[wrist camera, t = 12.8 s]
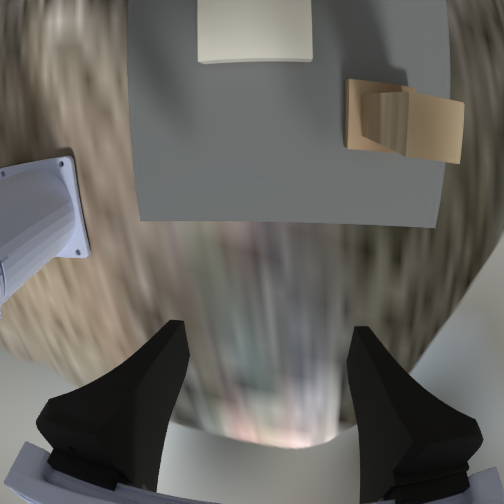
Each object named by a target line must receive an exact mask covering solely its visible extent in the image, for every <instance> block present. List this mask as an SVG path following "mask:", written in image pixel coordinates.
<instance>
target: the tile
mask: <svg viewBox="0 0 504 504" xmlns="http://www.w3.org/2000/svg"><path fill="white" fill-rule="evenodd" d="M197 31H198V62H200V63H202V64H214V63H229V62H258V61H286V62H311V61H312V59H313V47H312V13H311V0H197Z"/></svg>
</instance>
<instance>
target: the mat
mask: <svg viewBox="0 0 504 504" xmlns="http://www.w3.org/2000/svg"><path fill="white" fill-rule="evenodd" d="M311 13H312V47H313V59H312V61H311V62H286V61H258V62H229V63H214V64H202V63H200V62H198V31H197V0H128V17H127V71H128V98H129V116H130V130H131V143H132V154H133V164H134V173H135V182H136V191H137V199H138V206H139V214H140V221H264V222H306V223H338V224H364V225H387V226H407V227H426V228H435V227H436V222H437V217H438V211H439V205H440V199H441V192H442V186H443V178H444V170H445V162H442V161H435V160H427V159H419V158H411V157H405V156H403V155H401V154H399V153H389V152H379V151H367V150H354V149H347V148H345V147H344V124H345V80H347V79H356V80H365V81H374V82H381V83H388V84H395V85H401V86H408V87H413V88H416V93H420V94H425V95H430V96H435V97H440V98H445V99H449V100H450V47H449V30H448V18H447V8H446V0H311Z"/></svg>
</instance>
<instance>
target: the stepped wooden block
mask: <svg viewBox="0 0 504 504" xmlns="http://www.w3.org/2000/svg"><path fill="white" fill-rule="evenodd" d="M463 121H464V103H462V102H458V101H454V100H449V99H445V98H440V97H435V96H430V95H425V94H420V93H416V88H413V87H408V86H401V85H395V84H388V83H381V82H374V81H365V80H356V79H347V80H345V124H344V147H345V148H347V149H354V150H367V151H379V152H389V153H399V154H401V155H403V156H405V157H411V158H419V159H427V160H435V161H442V162H449V163H455V164H460V157H461V147H462V136H463Z"/></svg>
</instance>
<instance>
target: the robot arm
mask: <svg viewBox="0 0 504 504" xmlns="http://www.w3.org/2000/svg"><path fill="white" fill-rule="evenodd" d="M61 161H63V163H64V166H63V165H62V164H61ZM4 173H5V174H4ZM78 250H79V251H80V252H81V253H80V252H79V251H78ZM89 255H90V248H89V243H88V239H87V234H86V230H85V225H84V220H83V215H82V209H81V204H80V198H79V192H78V186H77V179H76V173H75V165H74V160H73V158H72V157H71V156H62V157H56V158H50V159H44V160H39V161H33V162H28V163H23V164H18V165H13V166H9V167H4V168H0V319H1V318H2V314H1V305H2V304H3V303H4V302H5V301H6V300H7V299H8V298H9V297H10V296H11V295H12V294H13V293H14V292H16V291H17V290H18V289H19V288H20V287H21V286H22V285H23V284H24V283H25V282H26V281H27V280H29V279H30V278H31V277H32V276H33V275H34V274H35V273H36V272H37V271H39V270H40V269H41V268H42V267H43V266H44V265H45V264H47V263H48V262H49V261H50V260H51V259H52V258H54V257H71V258H87V257H88V256H89ZM189 357H190V353H189V348H188V342H187V337H186V331H185V325H184V321H181V320H170V321H168V322H167V323H166V324H165V325H164V326H163V327H162V328H161V329H160V330H159V331H158V332H157V333H156V334H155V335H154V336H153V337H152V338H151V339H150V340H149V341H148V342H146V343H145V344H144V345H143V346H142V347H141V348H140V349H139V350H138V351H137V352H135V353H134V354H133V355H132V356H131V357H129V358H128V359H127V360H126V361H124V362H123V363H122V364H120V365H119V366H118V367H116V368H115V369H113V370H112V371H110V372H109V373H107V374H105V375H104V376H102V377H100V378H98V379H97V380H95V381H93V382H91V383H89V384H87V385H85V386H83V387H81V388H79V389H76V390H74V391H72V392H69V393H66V394H63V395H60V396H57V397H54V398H51V399H49V400H48V402H47V403H46V405H45V407H44V408H43V410H42V411H41V413H40V415H39V417H38V418H37V420H36V425H37V428H38V430H39V431H40V433H41V434H42V435H43V436H44V438H45V439H46V440H47V441H48V443H49V444H50V445H51V446H52V447H53V448H54V449H53V451H52V453H51V454H50V453H49V452H48V451H46V450H44V449H42V448H40V447H38V446H35V445H33V444H31V443H29V442H25V443H24V445H23V447H22V448H21V450H20V452H19V454H18V456H17V458H16V460H15V462H14V464H13V465H12V467H11V469H10V471H9V473H8V475H7V477H6V479H5V481H4V484H5V485H6V486H7V487H8V488H10V489H11V490H12V491H13V492H15V493H16V494H18V496H20V497H21V498H22V499H24V500H25V501H26V502H28V503H29V504H220V503H212V502H204V501H197V500H191V499H186V498H179V497H175V496H169V495H165V494H160V493H156V491H157V483H158V475H159V469H160V462H161V456H162V451H163V446H164V441H165V436H166V432H167V428H168V423H169V420H170V417H171V414H172V411H173V408H174V405H175V403H176V400H177V397H178V395H179V392H180V389H181V386H182V384H183V381H184V378H185V375H186V371H187V367H188V362H189ZM347 370H348V381H349V386H350V391H351V396H352V400H353V405H354V410H355V415H356V419H357V425H358V432H359V447H360V504H504V490H503V486H502V483H501V480H500V477H499V474H498V471H497V468H496V467H492V468H489V469H486V470H484V471H481V472H477V473H475V474H473V475H471V476H469V477H468V476H467V473H466V471H467V470H468V469H469V465H468V462H467V461H468V460H469V459H470V458H471V457H472V456H473V455H474V454H475V452H476V451H477V450H478V449H479V448H480V446H481V444H482V442H483V437H482V434H481V431H480V428H479V426H478V424H477V421H476V420H475V419H473V418H471V417H469V416H467V415H465V414H463V413H461V412H459V411H457V410H455V409H454V408H452V407H450V406H449V405H447V404H445V403H444V402H442V401H441V400H439V399H438V398H436V397H435V396H434V395H432V394H431V393H430V392H428V391H427V390H426V389H424V388H423V387H422V386H421V385H420V384H418V383H417V382H416V381H415V380H414V379H413V378H412V377H411V376H410V375H409V374H408V373H407V372H406V371H405V370H404V369H403V368H402V367H401V366H400V365H399V364H398V363H397V361H396V360H395V359H394V358H393V357H392V355H391V354H390V353H389V352H388V351H387V349H386V348H385V347H384V346H383V344H382V343H381V342H380V341H379V339H378V338H377V337H376V335H375V334H374V333H373V331H372V330H371V329H370V328H369V327H368V326H355V327H354V332H353V336H352V341H351V345H350V349H349V354H348V358H347Z"/></svg>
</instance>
